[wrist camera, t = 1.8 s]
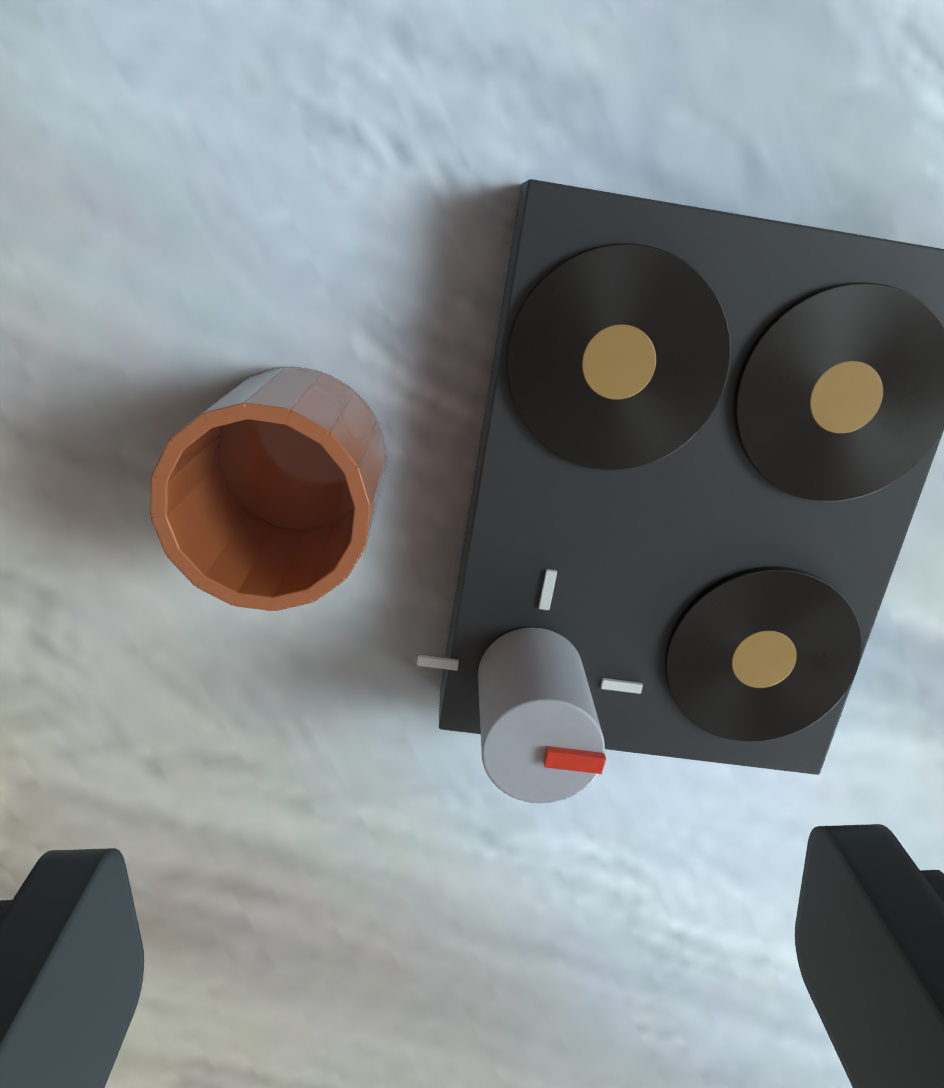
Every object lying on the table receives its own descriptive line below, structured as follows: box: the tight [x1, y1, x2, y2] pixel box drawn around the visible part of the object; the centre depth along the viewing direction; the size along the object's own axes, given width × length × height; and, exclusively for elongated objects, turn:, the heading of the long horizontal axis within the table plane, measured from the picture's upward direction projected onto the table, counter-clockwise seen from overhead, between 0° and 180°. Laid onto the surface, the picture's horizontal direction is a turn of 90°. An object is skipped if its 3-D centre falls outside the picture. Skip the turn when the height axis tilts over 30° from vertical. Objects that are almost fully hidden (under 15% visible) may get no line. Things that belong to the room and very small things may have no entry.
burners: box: [507, 243, 944, 742], centre depth 27 cm, size 14×16×1 cm
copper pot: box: [150, 367, 386, 611], centre depth 26 cm, size 6×6×6 cm
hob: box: [417, 179, 944, 775], centre depth 28 cm, size 15×19×3 cm
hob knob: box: [478, 628, 606, 803], centre depth 26 cm, size 4×4×5 cm
